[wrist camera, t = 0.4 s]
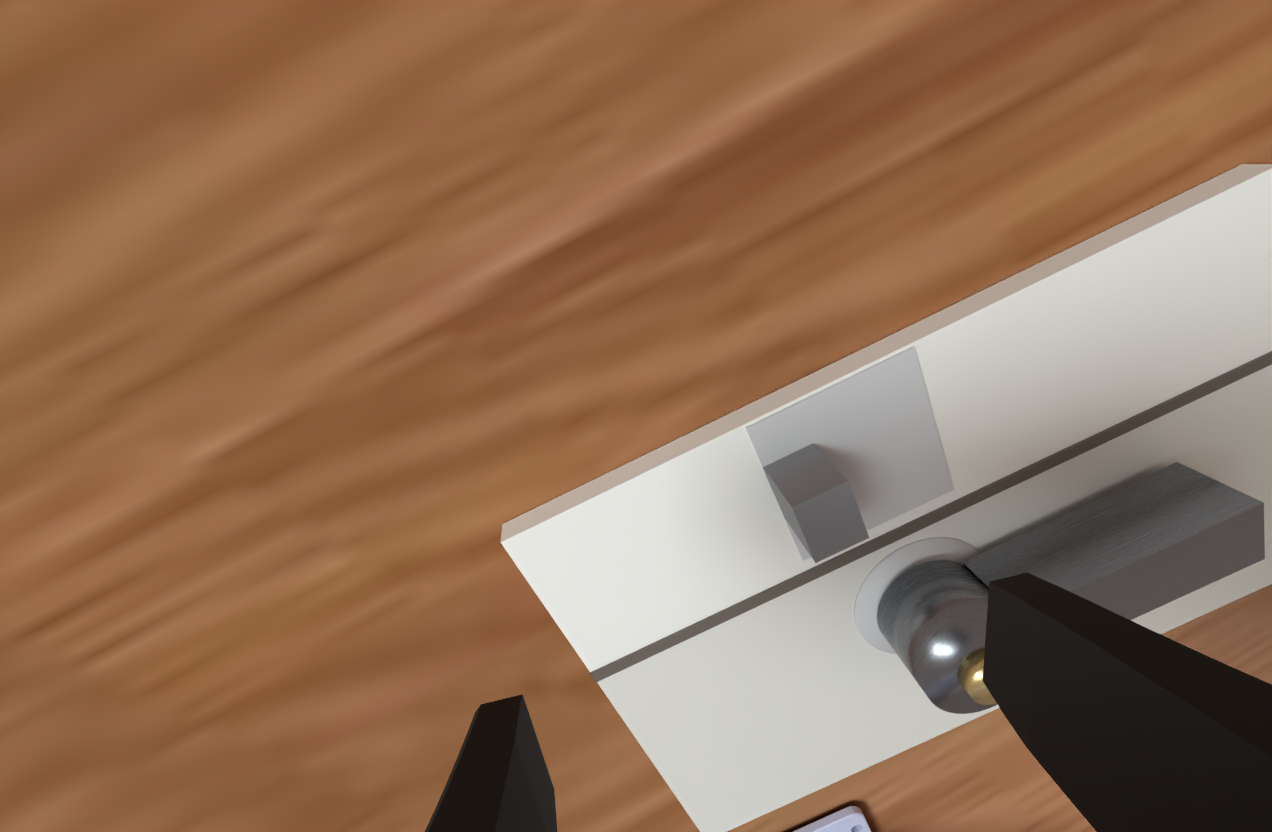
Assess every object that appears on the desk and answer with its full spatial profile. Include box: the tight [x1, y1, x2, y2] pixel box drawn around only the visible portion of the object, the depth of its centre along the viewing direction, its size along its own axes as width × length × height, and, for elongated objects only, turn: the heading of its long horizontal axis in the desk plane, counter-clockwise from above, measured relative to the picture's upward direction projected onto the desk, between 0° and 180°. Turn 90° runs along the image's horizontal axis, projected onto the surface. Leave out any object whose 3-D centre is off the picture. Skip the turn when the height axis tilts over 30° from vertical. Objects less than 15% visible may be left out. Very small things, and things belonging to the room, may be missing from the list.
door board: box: [501, 164, 1272, 832], centre depth 20 cm, size 16×24×3 cm, turn 115°
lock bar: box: [877, 462, 1265, 714], centre depth 19 cm, size 11×4×3 cm, turn 115°
